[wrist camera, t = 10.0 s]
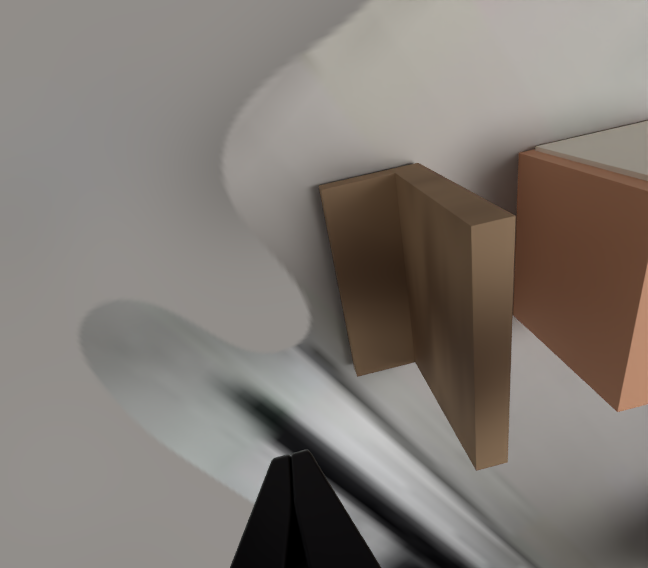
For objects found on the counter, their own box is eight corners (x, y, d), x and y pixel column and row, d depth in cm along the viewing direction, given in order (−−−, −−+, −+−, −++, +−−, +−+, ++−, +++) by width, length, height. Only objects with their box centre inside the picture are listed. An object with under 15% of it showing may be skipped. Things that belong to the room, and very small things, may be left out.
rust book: (639, 282, 19) (794, 365, 13) (512, 314, 18) (617, 412, 13) (673, 112, 15) (898, 133, 10) (517, 148, 15) (662, 189, 10)
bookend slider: (432, 347, 18) (507, 462, 13) (354, 367, 18) (397, 491, 13) (418, 162, 14) (515, 215, 9) (318, 185, 14) (358, 253, 9)
